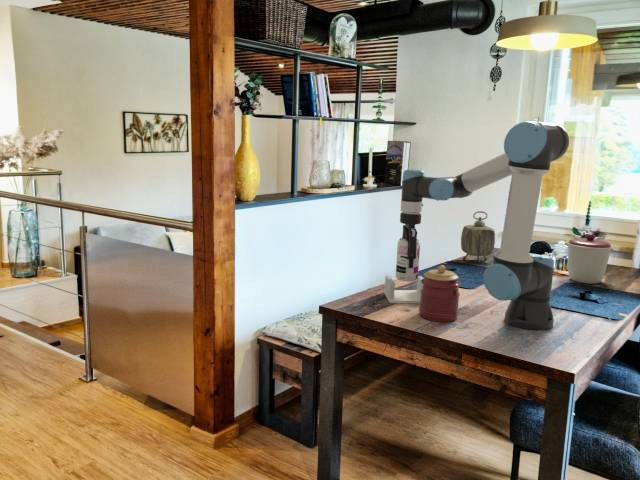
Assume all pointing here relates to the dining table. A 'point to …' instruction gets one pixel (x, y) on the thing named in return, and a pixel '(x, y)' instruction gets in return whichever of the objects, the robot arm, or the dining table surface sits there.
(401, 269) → the supplement can
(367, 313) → the dining table surface
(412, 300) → the can holder
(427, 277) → the canister
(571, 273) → the canister
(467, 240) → the tabletop clock
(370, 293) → the dining table surface
